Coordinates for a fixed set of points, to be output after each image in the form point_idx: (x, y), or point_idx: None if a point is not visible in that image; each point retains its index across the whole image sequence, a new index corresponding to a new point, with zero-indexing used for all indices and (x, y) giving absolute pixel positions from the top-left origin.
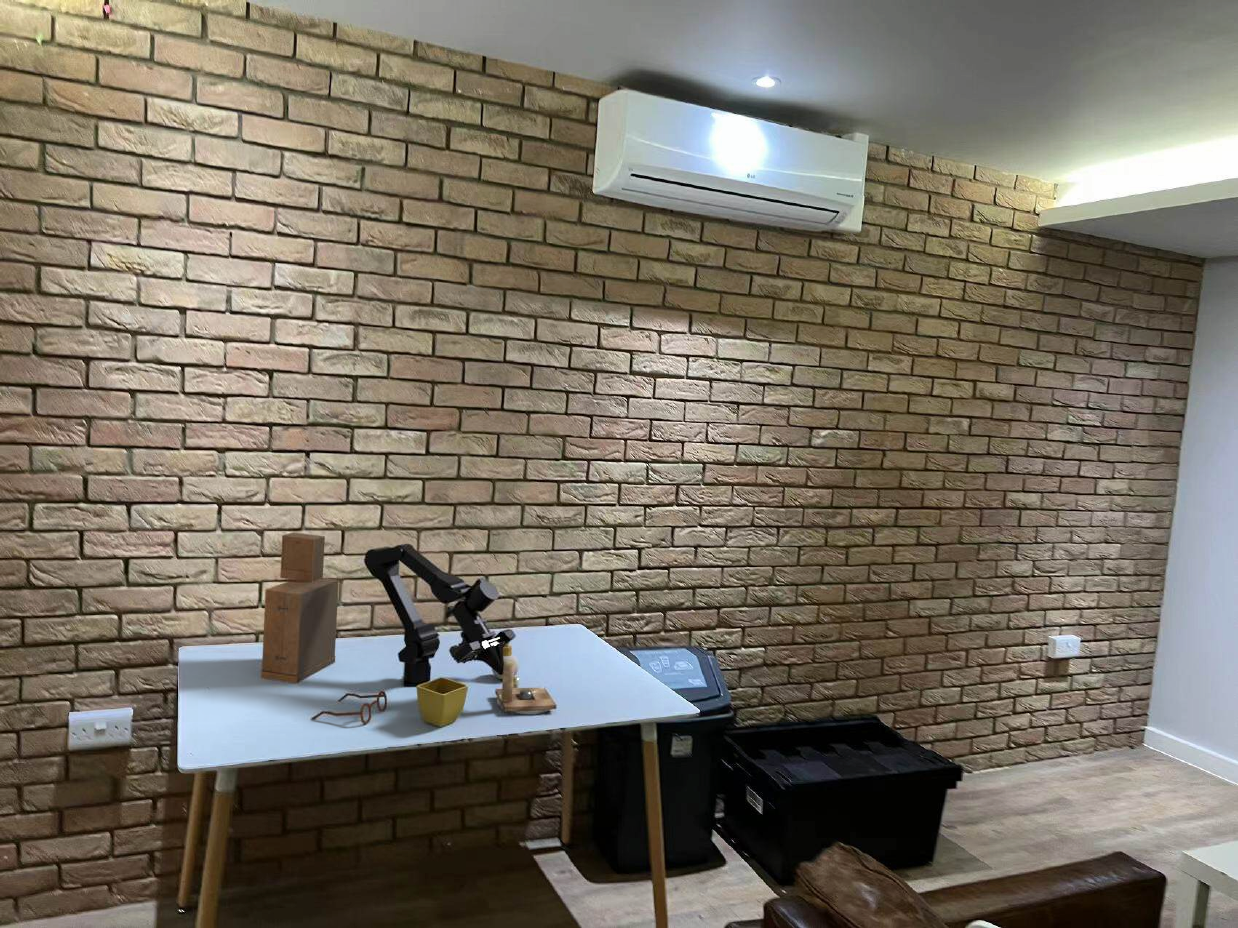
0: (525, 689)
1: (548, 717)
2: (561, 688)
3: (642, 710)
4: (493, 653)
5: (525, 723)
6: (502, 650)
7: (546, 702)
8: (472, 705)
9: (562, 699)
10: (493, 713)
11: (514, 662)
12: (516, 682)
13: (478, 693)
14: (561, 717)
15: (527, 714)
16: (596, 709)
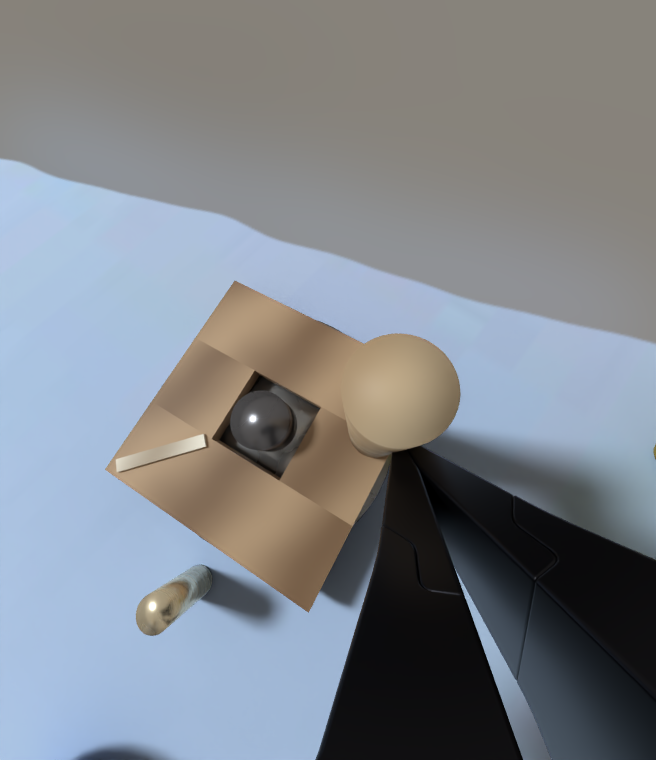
0: (194, 500)
1: (293, 286)
2: (15, 487)
3: (24, 183)
4: (639, 560)
5: (399, 287)
6: (375, 617)
7: (244, 322)
8: None
9: (117, 389)
10: None
11: (359, 349)
12: (177, 586)
13: None
14: (257, 264)
15: None
16: (113, 255)
